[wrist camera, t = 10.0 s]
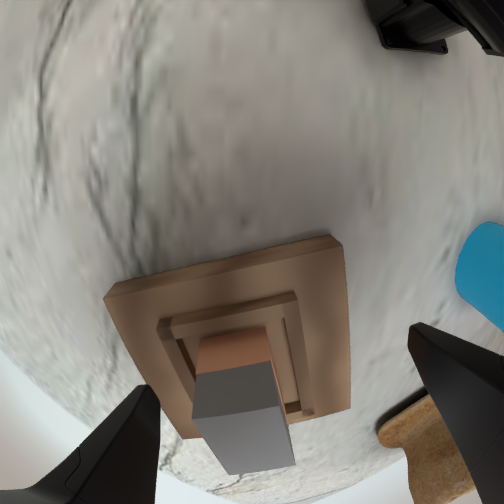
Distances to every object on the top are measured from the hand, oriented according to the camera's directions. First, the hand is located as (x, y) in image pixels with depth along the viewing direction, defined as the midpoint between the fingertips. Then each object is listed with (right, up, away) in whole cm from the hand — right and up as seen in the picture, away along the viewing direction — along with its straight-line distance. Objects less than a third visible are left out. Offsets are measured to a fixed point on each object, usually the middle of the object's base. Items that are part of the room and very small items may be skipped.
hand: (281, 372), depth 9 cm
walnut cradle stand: (-2, -4, +14) cm, 15 cm away
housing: (-2, -5, +12) cm, 13 cm away
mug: (+23, +4, +13) cm, 27 cm away
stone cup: (+22, -16, +20) cm, 34 cm away
